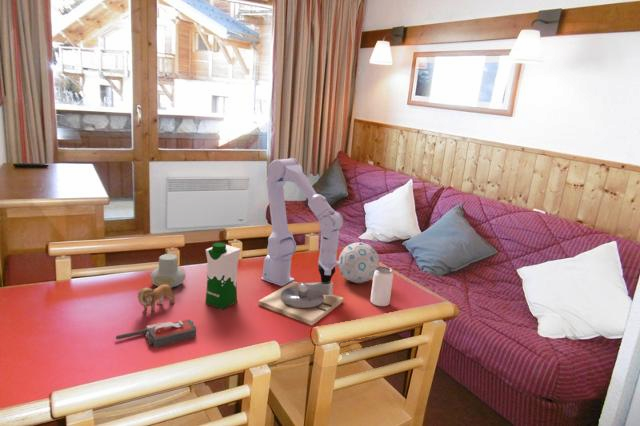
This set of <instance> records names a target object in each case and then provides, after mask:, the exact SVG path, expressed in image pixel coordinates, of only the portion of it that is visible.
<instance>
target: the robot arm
mask: <svg viewBox="0 0 640 426" xmlns="http://www.w3.org/2000/svg"><path fill="white" fill-rule="evenodd" d="M266 168H267V174H268V175H267V177H266V178H267V179H266V186H267V188H266V189H267V196H268V204H269V213H270V221H271V229H272V231H271V234H270V235H269V237H268V238H267V241H268V243H267V247H266V252H267V255H266V256H265V257H264V260H263V263H262V264H263V267H262V277H261V278H260V279H261V280H262V281H266V282H268V283H272V284H274V285H277V286H280V287H284V286H286V285H288V284H289V283H291V282H293V281H295V278H294V277H292V276H291V267H292V266H291V265H292V257H293V254H294V253H296V250H297V243H296V240H295V238H294V233H293V232H292V231H290V230H289V226H288V225H289V224H288V218H287V210H286V209H287V208H286V207H287V206H286V200H285V190H284V185H285V184H286V183H287V182H290V183H294V185H295V186H296V187H297V188H298V189H299V190H300V192H301V193H302V194H303V195H304V196H305V198H306V199H307V200H308V201H307V205H308V207H309V209H310V210H311V211H312V213H313V214H314V216H315V217H316V219H317V220H318V226H319V229H320V234H321V237H320V248H319V256H318V262H317V263H318V264H317V265H318V273H319V276H320V282H328V281H331V279H332V277H333V276H334V274H335V272H336V266H339V260H337V256H338V247H339V239H340V229H341V228H342V227H343V225H344V217H343V216H342V214H341V213H340V212H338V211H335V210H334V208H332V207H331V205H330V203H328V201H327V198H326V197H325V196H323V195H322V194H320V193H317V191H316V190H315V189H314V187H313V186H312V184H311V183H310V181H309V179H308V178H307V176H306V175H305V173H304V171H303V167H302V165H301V164H300V163H299V161H298V160H297V159H296V158H294V157H289V158H284V159H283V158H281V159H274V160H272V161H271V162H270V163H269V164H268V166H267V167H266Z"/></svg>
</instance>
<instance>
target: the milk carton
mask: <svg viewBox="0 0 640 426" xmlns="http://www.w3.org/2000/svg"><path fill="white" fill-rule="evenodd" d="M241 251H242V249H241V248H239V247H236V246H232V245H228V244H226V243H225V242H221V241H219V242H214V243H212V246H211V247H208V248H206V249H205V254H206V255H205V256H206V261H207V269H206V270H207V272H206V275H207V277H206V291H205V292H206V293H205V304H207V305H211V306H212V307H215V308H218V309H220V310H224V309H226V308H228V307H229V306H232V305H233V304H235V303H237V302H238V291H237V290H238V289H237V288H238V287H237V281H238V266H239V265H238V264H239V263H238V262H239V259H240V255H241Z"/></svg>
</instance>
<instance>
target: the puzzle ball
mask: <svg viewBox="0 0 640 426" xmlns="http://www.w3.org/2000/svg"><path fill="white" fill-rule="evenodd" d="M338 261H339V265H338V269H339V271H340V274H341V275H342V276H343V278H345V280H348V281H349V282H351V283H354V284H363V283H365V282H369V281H370V280H373V276H374V272H375V270H376V268H377V267H380V258H379V255H378V252H377V251H376V249H375V248H374V247H372V246H371V245H370V244H368V243H365V242H361V241H359V242H358V241H357V242H351V243H349V244H348V245H346V246H345V247H344V248H343V249H342V250H341V252H340V253H339V257H338Z"/></svg>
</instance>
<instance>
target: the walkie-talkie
mask: <svg viewBox="0 0 640 426" xmlns="http://www.w3.org/2000/svg"><path fill="white" fill-rule="evenodd" d="M138 335H145V338H146V339H147V341H148V345H149V346H153V348H159V347H162V346H167V345H171V344H175V343H178V342H184V341H187V340H190V339H194V338H196V337H197V326H196V325H195V324H194V321H192V320H191V319H183V320H178V321H175V322H172V321H167V322H160V323H156V324H155V323H154V324H151V325H146V328H143V329H140V330H136V331H131V332H126V333H122V334H119V335H118V334H117V335H116V336H115V339H116V340H122V339H125V338H131V337H135V336H138Z"/></svg>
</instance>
